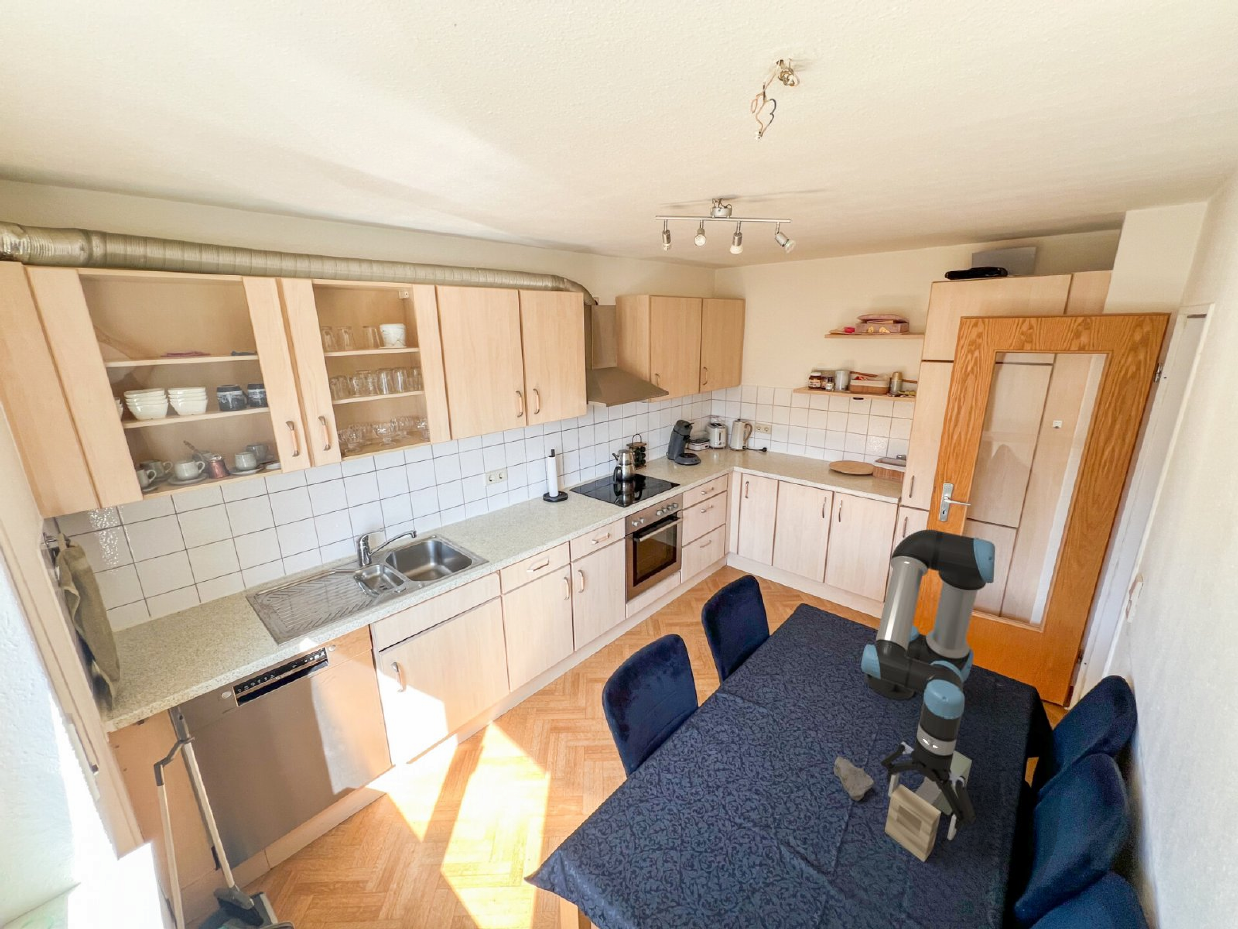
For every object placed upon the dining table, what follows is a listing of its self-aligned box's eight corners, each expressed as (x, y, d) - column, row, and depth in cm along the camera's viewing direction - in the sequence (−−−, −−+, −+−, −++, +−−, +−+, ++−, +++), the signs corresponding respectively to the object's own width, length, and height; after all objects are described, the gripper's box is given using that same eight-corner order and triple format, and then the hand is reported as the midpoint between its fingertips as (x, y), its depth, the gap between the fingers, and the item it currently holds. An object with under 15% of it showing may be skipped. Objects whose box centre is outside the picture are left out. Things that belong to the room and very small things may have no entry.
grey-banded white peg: (934, 777, 129) (936, 765, 128) (950, 788, 126) (953, 776, 125) (902, 816, 118) (904, 804, 117) (919, 829, 115) (922, 816, 114)
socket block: (893, 820, 124) (900, 784, 120) (932, 849, 117) (941, 811, 113) (884, 831, 121) (891, 794, 118) (923, 862, 114) (932, 823, 111)
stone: (857, 807, 127) (859, 789, 126) (824, 779, 135) (826, 762, 134) (875, 792, 131) (878, 775, 130) (842, 766, 139) (844, 749, 138)
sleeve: (936, 777, 136) (943, 744, 133) (964, 794, 130) (971, 760, 127) (920, 796, 130) (927, 762, 127) (948, 816, 125) (956, 781, 122)
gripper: (873, 718, 122) (862, 785, 128) (991, 791, 103) (973, 866, 108) (888, 705, 126) (877, 770, 132) (1004, 773, 107) (985, 845, 113)
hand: (920, 814), depth 120 cm, fingers open, 13 cm apart
